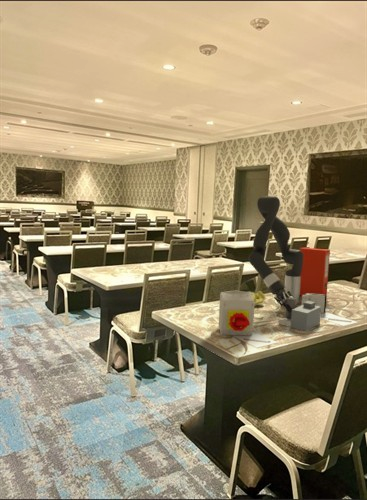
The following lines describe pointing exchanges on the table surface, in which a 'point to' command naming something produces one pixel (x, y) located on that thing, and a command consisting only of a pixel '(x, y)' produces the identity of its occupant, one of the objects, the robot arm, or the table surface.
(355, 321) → the table surface
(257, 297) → the plastic component
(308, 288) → the file binder
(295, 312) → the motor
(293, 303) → the dark grey tube
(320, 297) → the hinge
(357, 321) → the table surface
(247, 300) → the electrical switch box
